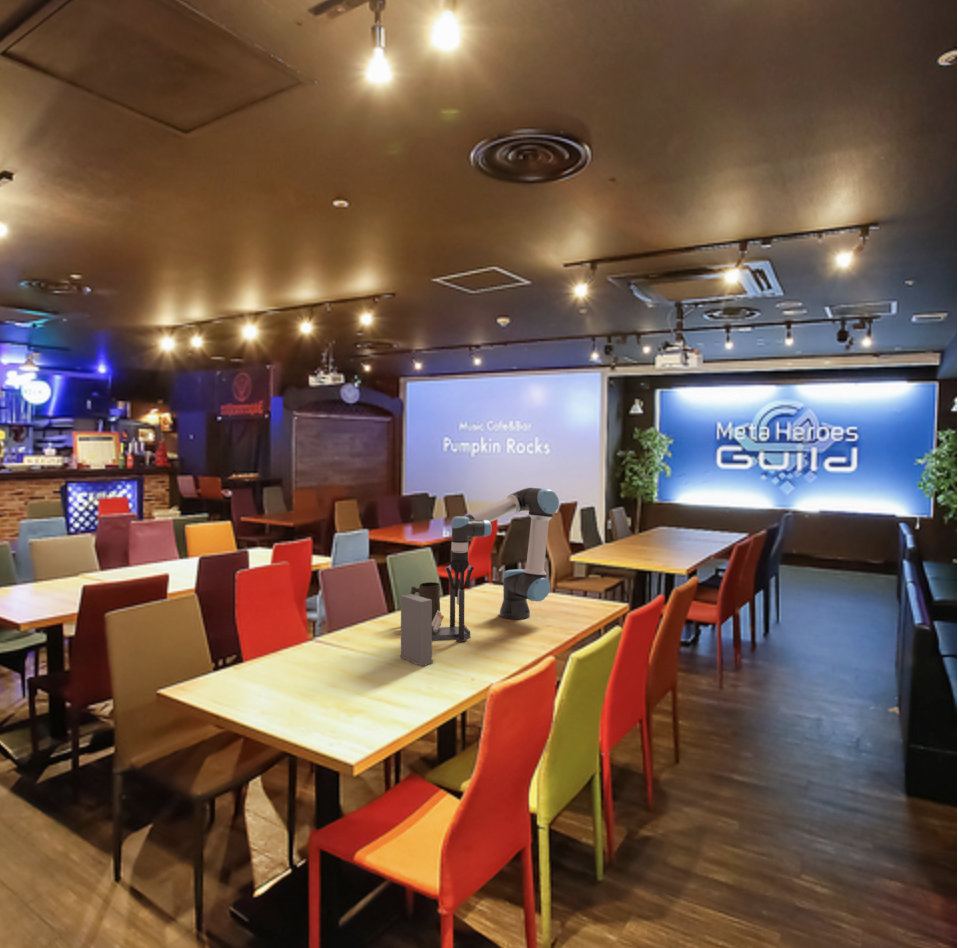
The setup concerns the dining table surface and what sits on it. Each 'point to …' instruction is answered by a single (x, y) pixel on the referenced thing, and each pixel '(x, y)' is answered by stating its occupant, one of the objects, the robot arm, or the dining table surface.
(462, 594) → the disc
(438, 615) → the breaker paddle
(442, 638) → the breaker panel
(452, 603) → the cable post far
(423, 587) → the beer stein
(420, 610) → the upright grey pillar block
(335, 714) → the dining table surface
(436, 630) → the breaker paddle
